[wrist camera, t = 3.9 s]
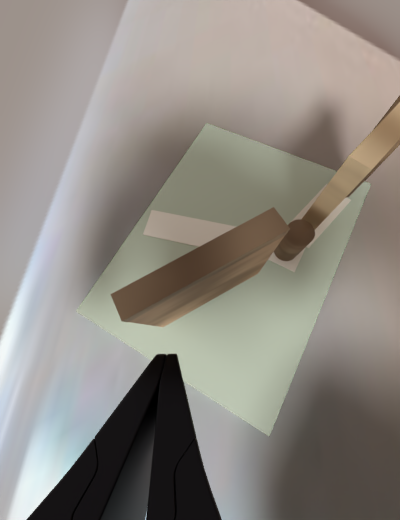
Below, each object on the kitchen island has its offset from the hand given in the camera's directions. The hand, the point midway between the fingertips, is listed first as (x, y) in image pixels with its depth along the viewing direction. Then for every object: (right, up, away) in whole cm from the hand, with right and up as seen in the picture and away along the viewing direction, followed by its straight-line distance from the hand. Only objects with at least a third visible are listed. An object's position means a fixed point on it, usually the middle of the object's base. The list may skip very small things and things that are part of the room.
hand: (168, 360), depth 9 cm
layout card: (+4, +5, +10) cm, 12 cm away
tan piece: (+11, +7, +10) cm, 16 cm away
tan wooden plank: (+2, +2, +8) cm, 8 cm away
